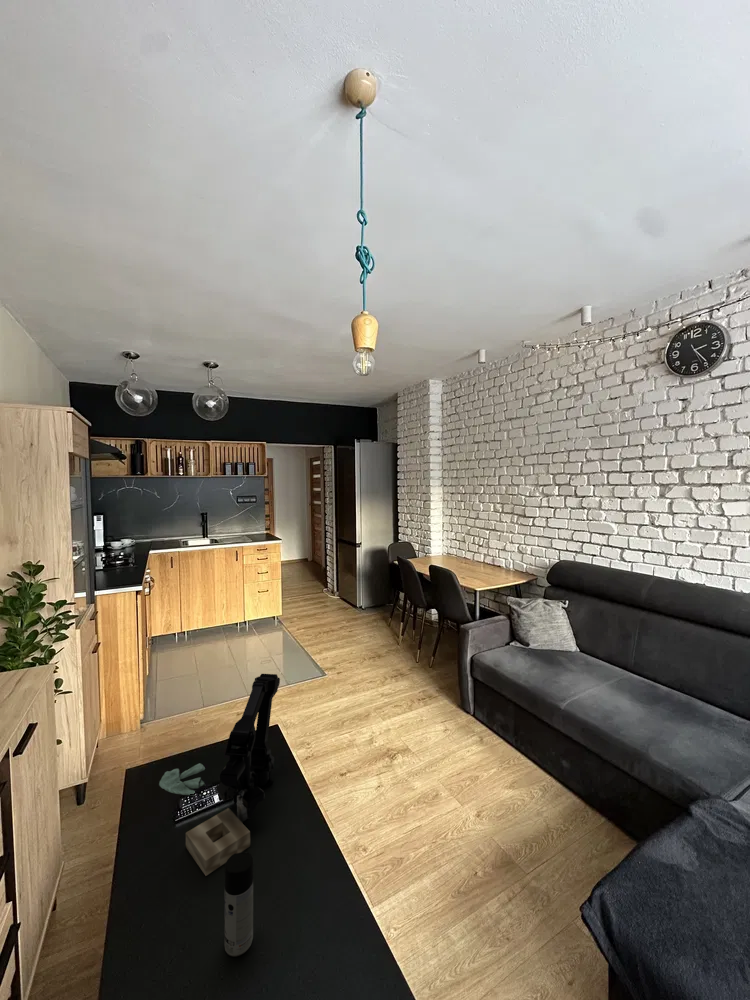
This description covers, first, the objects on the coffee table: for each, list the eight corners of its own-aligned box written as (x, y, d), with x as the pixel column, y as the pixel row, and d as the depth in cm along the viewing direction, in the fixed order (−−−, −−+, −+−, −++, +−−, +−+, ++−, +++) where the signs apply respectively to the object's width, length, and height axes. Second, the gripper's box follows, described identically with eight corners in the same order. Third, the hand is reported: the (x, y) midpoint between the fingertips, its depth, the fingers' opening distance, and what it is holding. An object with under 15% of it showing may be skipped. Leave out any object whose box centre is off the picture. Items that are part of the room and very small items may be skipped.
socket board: (228, 821, 139) (228, 807, 139) (250, 845, 129) (250, 831, 129) (185, 847, 129) (185, 832, 129) (205, 876, 119) (205, 860, 119)
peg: (244, 811, 143) (244, 789, 143) (250, 817, 140) (249, 794, 140) (235, 817, 140) (235, 794, 140) (240, 823, 138) (240, 799, 138)
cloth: (158, 772, 163) (158, 766, 163) (218, 757, 173) (217, 752, 172) (155, 809, 145) (155, 802, 145) (222, 790, 154) (222, 783, 154)
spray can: (228, 929, 105) (228, 851, 104) (256, 926, 105) (255, 849, 105) (221, 958, 98) (220, 875, 98) (250, 956, 99) (250, 873, 98)
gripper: (206, 763, 141) (206, 809, 141) (233, 791, 128) (233, 841, 128) (237, 749, 149) (237, 792, 149) (265, 773, 136) (265, 820, 136)
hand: (242, 810), depth 140 cm, fingers open, 9 cm apart
